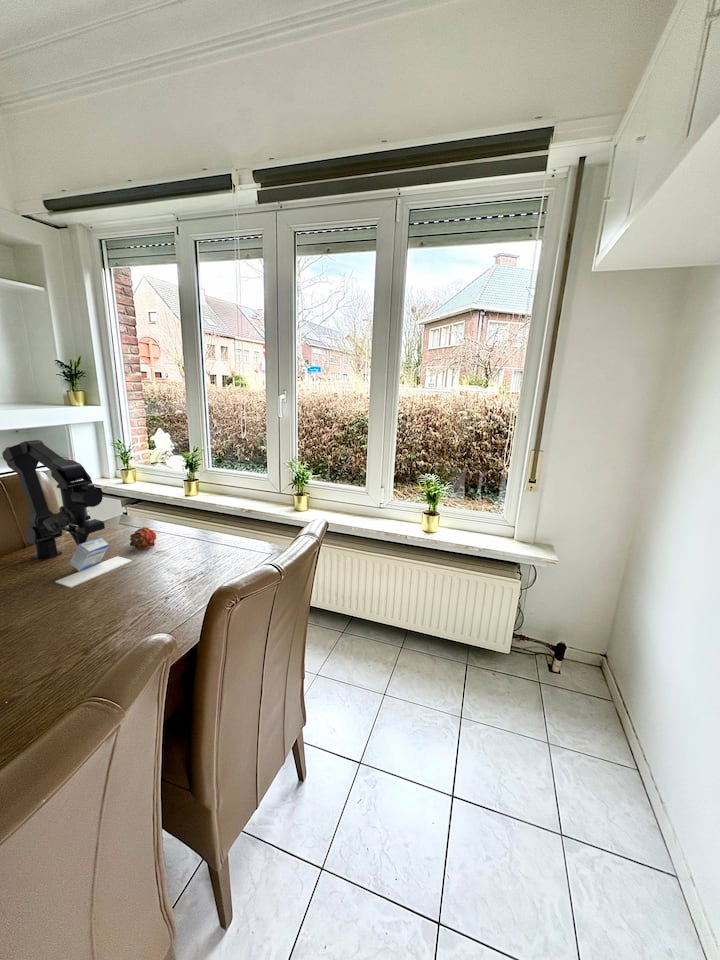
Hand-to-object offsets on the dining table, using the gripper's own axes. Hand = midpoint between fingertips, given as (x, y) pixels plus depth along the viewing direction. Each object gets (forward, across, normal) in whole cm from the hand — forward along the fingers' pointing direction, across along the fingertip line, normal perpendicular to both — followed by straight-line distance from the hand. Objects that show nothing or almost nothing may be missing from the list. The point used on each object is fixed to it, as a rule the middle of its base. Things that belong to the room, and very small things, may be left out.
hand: (81, 547), depth 125 cm
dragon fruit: (+8, +3, +20) cm, 21 cm away
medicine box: (+6, 0, 0) cm, 6 cm away
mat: (+7, +6, 0) cm, 10 cm away
